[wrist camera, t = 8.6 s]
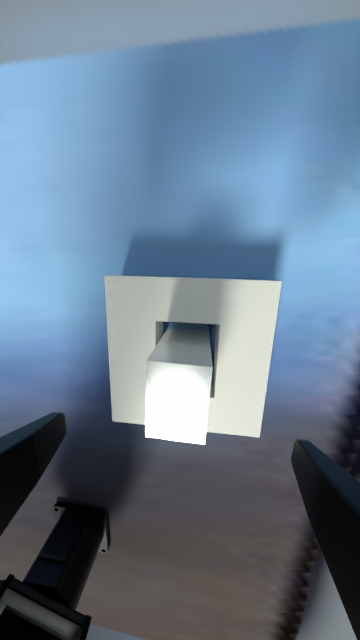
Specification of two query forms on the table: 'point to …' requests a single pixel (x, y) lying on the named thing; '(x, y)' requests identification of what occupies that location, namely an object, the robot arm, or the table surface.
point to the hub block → (194, 307)
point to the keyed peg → (179, 384)
